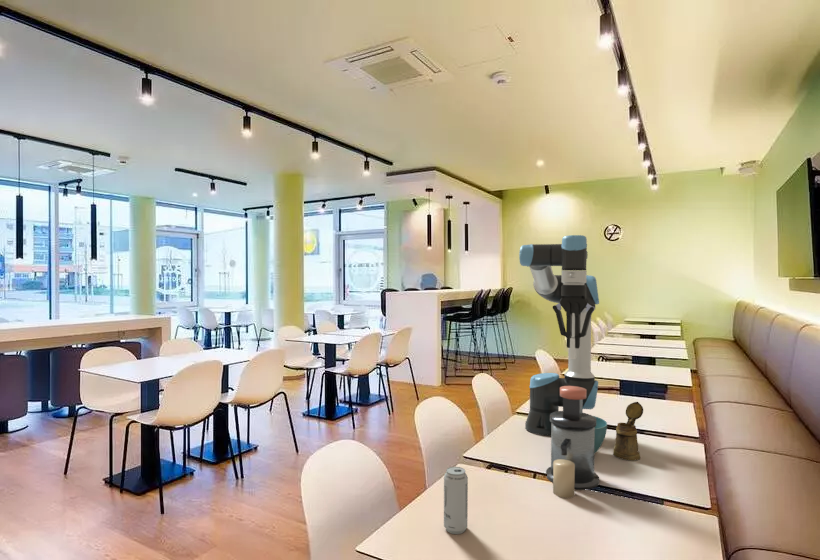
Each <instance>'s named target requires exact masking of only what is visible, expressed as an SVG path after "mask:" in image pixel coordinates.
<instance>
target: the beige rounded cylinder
mask: <svg viewBox="0 0 820 560" xmlns="http://www.w3.org/2000/svg"><path fill="white" fill-rule="evenodd" d="M574 483H575V464H574V463H573V462H571V461H569V460H564V459H558V460H555V461H554V462H553V483H552V484H553V485H552V486H553V487H552V493H553V494H554V495H555V497H559V498H563V499H571V498H574V497H575V489H574Z"/></svg>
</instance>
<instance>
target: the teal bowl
mask: <svg viewBox="0 0 820 560" xmlns="http://www.w3.org/2000/svg"><path fill="white" fill-rule="evenodd" d="M593 416H594V417H595V418H596V426H595V437H594V455H595V454H596V453H597V452H598V451H599V449H600V448H601V447H602V445H603V443H604V440H605V438H606V435H607V430H608V422H607V421H606V420H605V419H603V418H600V417H598V416H596V415H593Z"/></svg>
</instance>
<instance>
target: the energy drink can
mask: <svg viewBox="0 0 820 560" xmlns="http://www.w3.org/2000/svg"><path fill="white" fill-rule="evenodd" d="M468 481H469V478H468V475H467V473H466V470H465V468H463V467H460V466H449V467H447V468H446V472H445V474H444V475H443V527H444V528H445V530H446V532H448V533H450V534H453V535H460V534H461V535H462V534H463V533H465V532H466V529H467V528H468V511H469V510H468V509H469V508H468V507H469V506H468V497H469V496H468V490H469V487H468V486H469V485H468V484H469V482H468Z"/></svg>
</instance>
